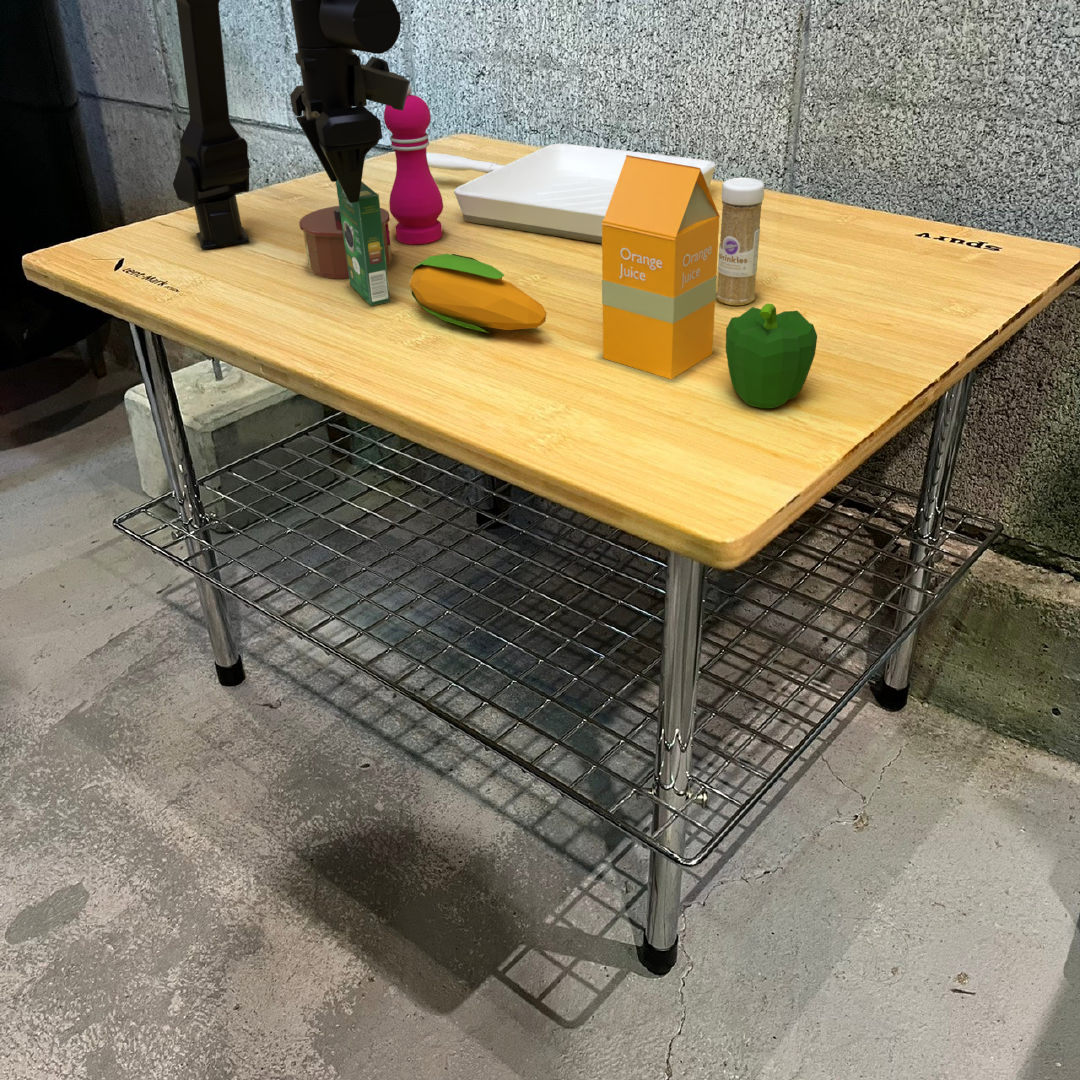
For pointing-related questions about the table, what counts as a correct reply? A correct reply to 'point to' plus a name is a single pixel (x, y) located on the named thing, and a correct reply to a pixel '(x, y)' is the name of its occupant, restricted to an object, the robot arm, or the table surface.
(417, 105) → the pepper mill
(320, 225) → the pot lid
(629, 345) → the orange juice
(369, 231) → the coffee box
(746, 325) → the bell pepper
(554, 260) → the table surface
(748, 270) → the sprinkles bottle
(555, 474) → the table surface
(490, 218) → the pan
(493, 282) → the corn
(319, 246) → the pot
